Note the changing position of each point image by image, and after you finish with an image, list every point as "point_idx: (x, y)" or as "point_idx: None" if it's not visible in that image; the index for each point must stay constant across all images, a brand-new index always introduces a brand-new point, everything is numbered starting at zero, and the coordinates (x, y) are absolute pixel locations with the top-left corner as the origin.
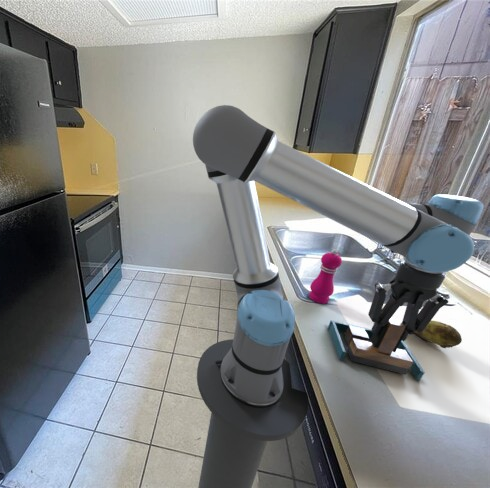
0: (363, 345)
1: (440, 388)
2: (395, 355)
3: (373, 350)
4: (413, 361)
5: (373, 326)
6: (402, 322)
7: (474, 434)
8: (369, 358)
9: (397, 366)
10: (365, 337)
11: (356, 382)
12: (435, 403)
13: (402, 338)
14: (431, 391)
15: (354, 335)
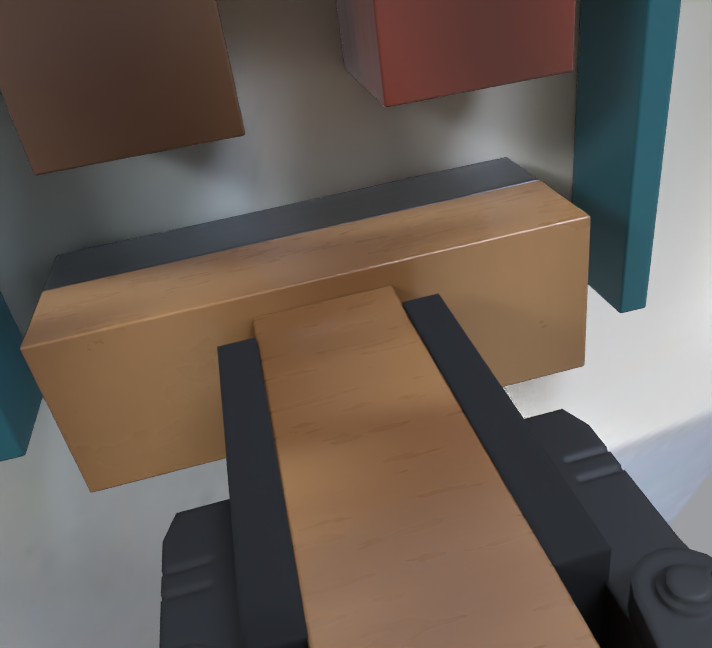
0: (152, 416)
1: (701, 253)
2: None
3: None
4: (625, 194)
5: (167, 609)
6: (650, 643)
7: (673, 484)
8: None
9: None
10: (197, 143)
11: (162, 521)
12: (593, 403)
13: None
14: (622, 318)
15: (60, 169)
